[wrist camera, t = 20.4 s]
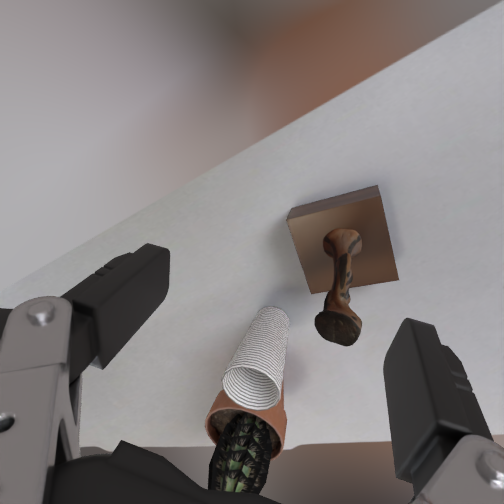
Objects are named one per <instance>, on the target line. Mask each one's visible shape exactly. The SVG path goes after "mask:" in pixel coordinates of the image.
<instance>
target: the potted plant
mask: <svg viewBox="0 0 504 504" xmlns="http://www.w3.org/2000/svg"><path fill="white" fill-rule="evenodd" d="M286 425H287V417H286V413H285V410H284V395H283V380H282V388H281V396H280V400H279V402H278V403H277V405H276V406H274V407H272V408H270V409H268V410H262V411H255V410H250V409H246V408H244V407H242V406H240V405H238V404H236V403H235V402H233V401H232V400H231V399H230V398H229V397H228V396H227V395H226V393H225V391H224V390H222V391H220V393H219V394H218V396H217V397H216V399H215V401H214V403H213V405H212V407H211V409H210V411H209V413H208V415H207V417H206V420H205V428H206V431H207V434H208V436H209V437H210V439H211V440H212V441H213V443H214V444H215V445H216V448H215V451H214V453H213V456H212V459H211V461H210V464H209V478H208V490H219V491H231V492H242V493H254V494H258V495H259V493H260V491H261V490H262V488H263V486H264V485H265V483H266V479H267V474H268V469H269V464H270V461H271V460H274V459H276V458H277V457H278V456H279V455H280V454H281V453H282V450H283V446H284V440H285V432H286Z"/></svg>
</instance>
